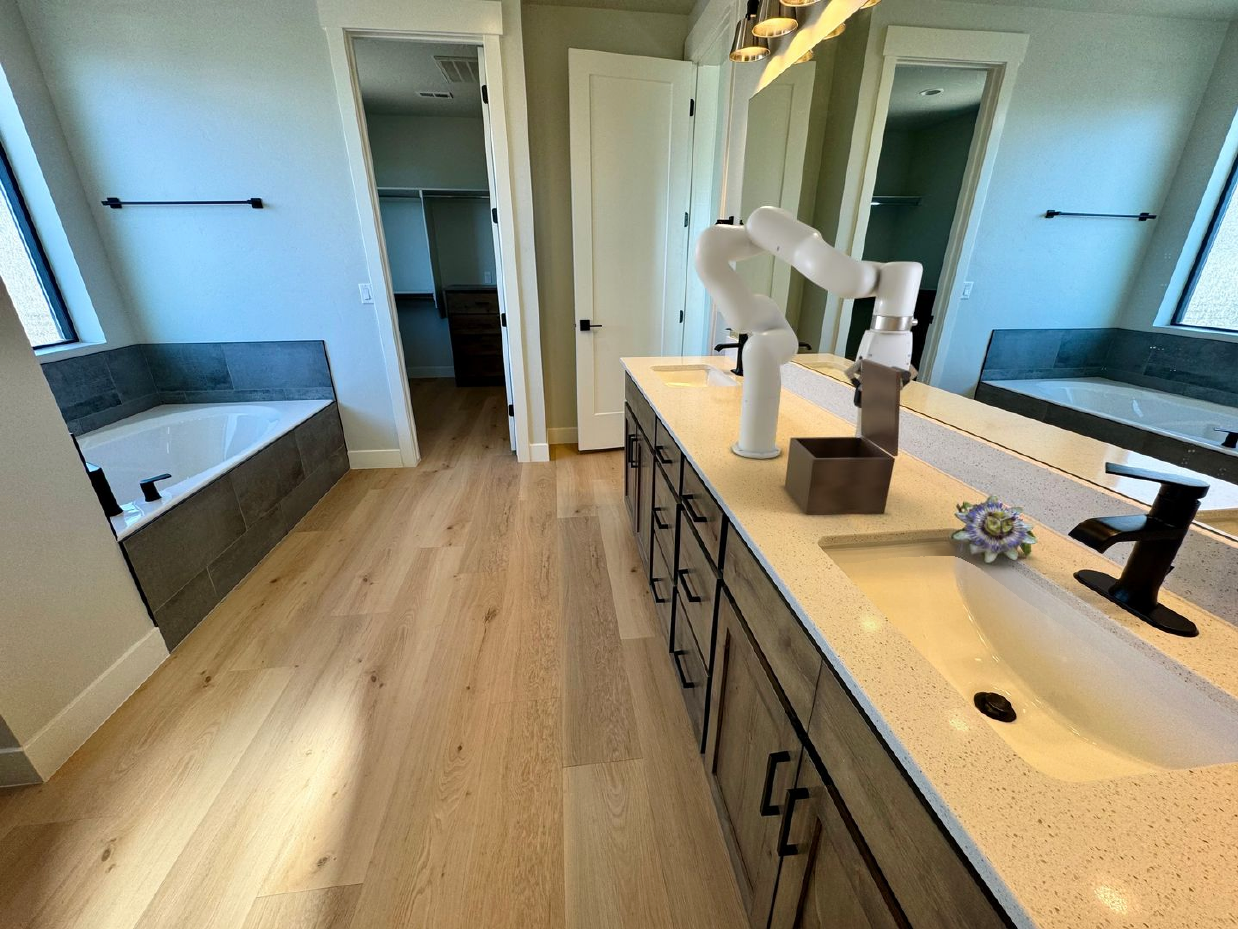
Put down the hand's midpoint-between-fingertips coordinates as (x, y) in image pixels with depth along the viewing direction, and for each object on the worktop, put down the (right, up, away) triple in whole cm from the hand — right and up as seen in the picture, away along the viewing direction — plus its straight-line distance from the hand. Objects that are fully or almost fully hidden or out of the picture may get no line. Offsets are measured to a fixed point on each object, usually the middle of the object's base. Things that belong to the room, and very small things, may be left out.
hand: (874, 406), depth 111 cm
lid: (-7, -2, -14) cm, 15 cm away
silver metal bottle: (0, -14, +6) cm, 15 cm away
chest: (-12, -21, -6) cm, 25 cm away
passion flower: (+6, -28, -26) cm, 39 cm away
